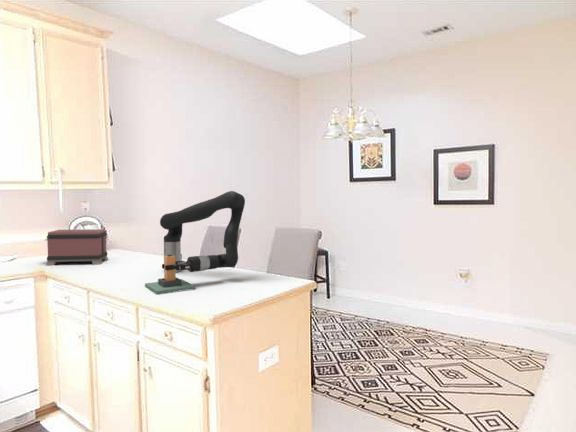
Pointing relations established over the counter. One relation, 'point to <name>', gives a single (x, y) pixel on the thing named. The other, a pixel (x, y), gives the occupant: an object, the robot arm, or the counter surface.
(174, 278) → the plug
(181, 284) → the board
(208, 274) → the counter surface
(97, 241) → the reddish brown chest
